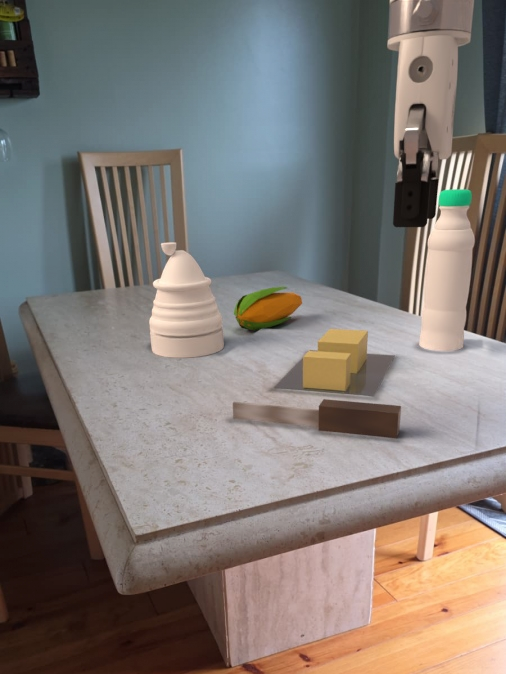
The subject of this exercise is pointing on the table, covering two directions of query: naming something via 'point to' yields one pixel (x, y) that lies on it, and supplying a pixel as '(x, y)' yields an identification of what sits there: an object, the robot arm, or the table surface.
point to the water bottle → (448, 274)
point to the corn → (266, 308)
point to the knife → (329, 416)
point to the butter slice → (326, 370)
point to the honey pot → (184, 310)
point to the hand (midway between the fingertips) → (415, 222)
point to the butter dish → (360, 383)
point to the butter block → (346, 345)
